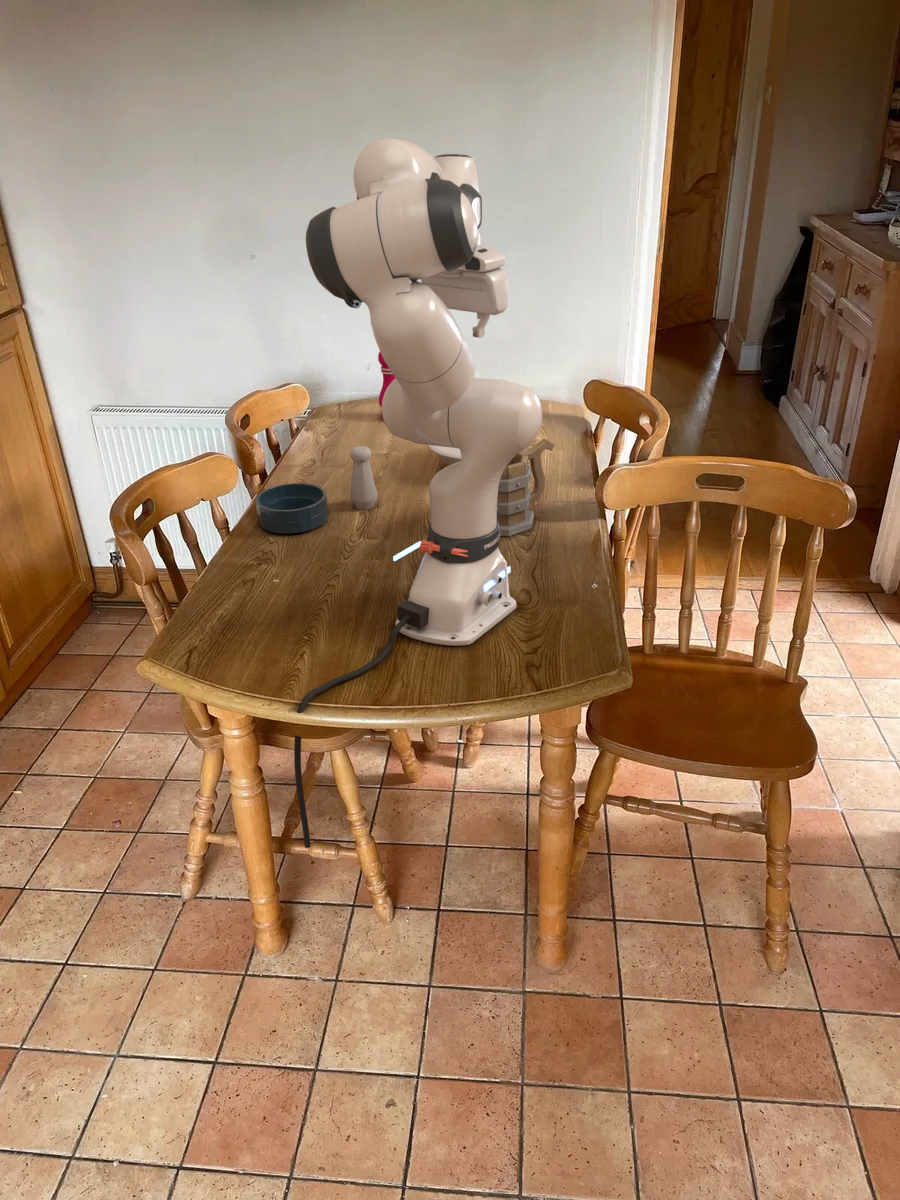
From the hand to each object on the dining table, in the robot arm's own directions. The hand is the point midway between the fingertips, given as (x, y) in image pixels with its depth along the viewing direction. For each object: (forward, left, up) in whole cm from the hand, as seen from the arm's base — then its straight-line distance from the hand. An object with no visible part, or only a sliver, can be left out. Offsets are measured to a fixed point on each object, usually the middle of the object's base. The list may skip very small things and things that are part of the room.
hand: (457, 333), depth 171 cm
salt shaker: (-2, +22, -38) cm, 44 cm away
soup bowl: (+27, +8, -38) cm, 47 cm away
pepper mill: (+51, +43, -27) cm, 72 cm away
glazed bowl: (-14, +32, -38) cm, 51 cm away
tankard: (+4, -10, -38) cm, 39 cm away
